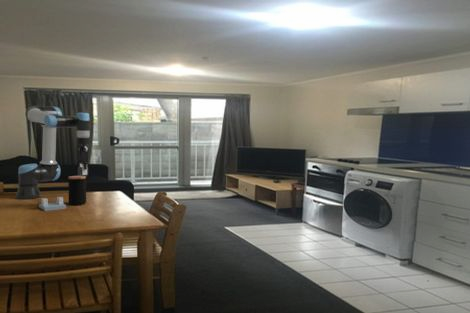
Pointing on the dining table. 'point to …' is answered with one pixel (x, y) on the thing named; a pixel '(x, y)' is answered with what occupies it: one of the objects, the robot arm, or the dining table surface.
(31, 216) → the dining table surface
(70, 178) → the coffee jar
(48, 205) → the board
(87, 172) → the dark gray block
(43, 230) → the dining table surface
